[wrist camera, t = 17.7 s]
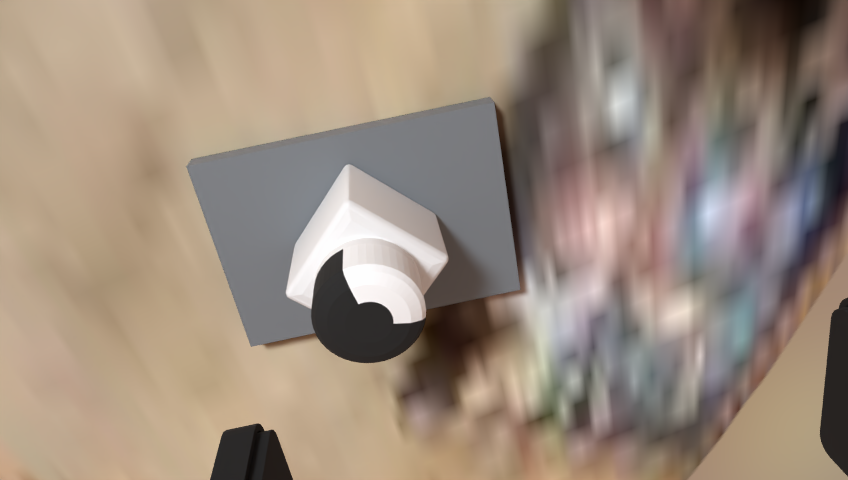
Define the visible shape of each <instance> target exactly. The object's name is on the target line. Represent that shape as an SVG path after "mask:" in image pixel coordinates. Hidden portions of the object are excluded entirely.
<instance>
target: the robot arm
mask: <svg viewBox="0 0 848 480" xmlns="http://www.w3.org/2000/svg"><path fill="white" fill-rule="evenodd" d="M820 437H821V442H822V445H823V447H824V449H825V451H826V452H827V454H828V455H829V456H830V458H831V459H832V460H833V461H834V462H835V463H836V464H837V465H838V466H839V467H840V469H841V470H843V472H844V473H845V474H846V475H847V476H848V298H846V299H844V300H842V302H841V303H840V306H839V309H837V310H835V311H834V312H833V313H832V317H831V325H830V335H829V346H828V356H827V367H826V377H825V387H824V396H823V408H822V417H821V427H820ZM210 480H293V478H292V475H291V473H290V470H289V467H288V464H287V462H286V459H285V456H284V453H283V451H282V448H281V445H280V443H279V440H278V437H277V435H276V432H275V431H274V430H268V431H264V429H263V427H262V426H261V424H253V425H248V426H244V427H239V428H234V429H230V430H226V431H224V432H223V434H222V437H221V440H220V444H219V448H218V452H217V456H216V459H215V463H214V467H213V471H212V475H211V478H210Z"/></svg>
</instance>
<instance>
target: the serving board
mask: <svg viewBox="0 0 848 480" xmlns="http://www.w3.org/2000/svg"><path fill="white" fill-rule="evenodd" d="M348 164H350V165H353V166H354V167H356V168H358V169H360V170H361V171H363V172H365V173H366V174H368V175H370V176H371V177H373V178H375V179H377V180H378V181H380V182H382V183H383V184H385V185H387V186H389V187H390V188H392V189H394V190H395V191H397V192H399V193H400V194H402V195H404V196H406V197H407V198H409V199H411V200H412V201H414V202H416V203H418V204H419V205H421V206H423V207H424V208H426V209H428V210H429V211H431V212H433V213H434V214H435V215H436V218H437V221H438V225H439V228H440V231H441V235H442V238H443V241H444V244H445V248H446V251H447V254H448V262H447V264H446V265H445V267H444V268H443V269H442V271H441V272H440V273H439V275H438V276H437V278H436V279H435V280H434V282H433V283H432V284H431V286H430V287H429V289H428V290H427V291H426V293H425V294H424V300H425V306H426V310H427V309H431V308H436V307H441V306H446V305H450V304H455V303H460V302H464V301H469V300H474V299H479V298H483V297H488V296H493V295H498V294H502V293H507V292H512V291H516V290H520V284H519V276H518V269H517V262H516V255H515V248H514V240H513V233H512V226H511V219H510V212H509V205H508V197H507V190H506V183H505V176H504V169H503V161H502V154H501V147H500V140H499V133H498V126H497V118H496V111H495V104H494V101H493V100H492V99H491V98H490V97H488V98H483V99H479V100H474V101H469V102H464V103H459V104H455V105H450V106H445V107H440V108H435V109H431V110H426V111H421V112H416V113H411V114H407V115H402V116H397V117H392V118H387V119H383V120H378V121H373V122H368V123H363V124H358V125H354V126H349V127H344V128H339V129H334V130H330V131H325V132H320V133H315V134H310V135H306V136H301V137H296V138H291V139H286V140H282V141H277V142H272V143H267V144H262V145H258V146H253V147H248V148H243V149H238V150H233V151H229V152H224V153H219V154H214V155H209V156H205V157H200V158H195V159H191V161H190V162H189V164H188V165H187V166H186V167H187V169H188V172H189V175H190V178H191V181H192V183H193V186H194V189H195V192H196V194H197V197H198V200H199V203H200V206H201V208H202V211H203V214H204V217H205V220H206V222H207V225H208V228H209V231H210V233H211V236H212V239H213V242H214V245H215V247H216V250H217V253H218V256H219V259H220V261H221V264H222V267H223V270H224V273H225V275H226V278H227V281H228V284H229V286H230V289H231V292H232V295H233V298H234V300H235V303H236V306H237V309H238V312H239V314H240V317H241V320H242V323H243V325H244V328H245V331H246V334H247V337H248V339H249V342H250V345H251V347H252V346H257V345H261V344H266V343H271V342H276V341H280V340H285V339H290V338H294V337H299V336H304V335H309V334H313V333H315V331H314V329H313V325H312V320H311V309H310V308H308V307H306V306H304V305H302V304H300V303H298V302H295V301H293V300H291V299H289V298H288V297H287V295H286V289H287V283H288V278H289V273H290V268H291V262H292V257H293V252H294V247H295V244H296V242H297V240H298V239H299V237H300V236H301V234H302V233H303V231H304V229H305V228H306V226H307V225H308V223H309V222H310V220H311V218H312V217H313V215H314V214H315V212H316V210H317V209H318V207H319V206H320V204H321V203H322V201H323V199H324V198H325V196H326V195H327V193H328V192H329V190H330V188H331V187H332V185H333V184H334V182H335V181H336V179H337V177H338V176H339V174H340V173H341V171H342V169H343V168H344V167H345V166H346V165H348Z"/></svg>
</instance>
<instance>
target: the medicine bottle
mask: <svg viewBox="0 0 848 480" xmlns="http://www.w3.org/2000/svg"><path fill="white" fill-rule="evenodd" d="M447 262H448V254H447V251H446V248H445V244H444V241H443V238H442V235H441V231H440V228H439V225H438V221H437V218H436V215H435V214H434V213H433V212H431V211H429V210H428V209H426V208H424V207H423V206H421V205H419V204H418V203H416V202H414V201H412V200H411V199H409V198H407V197H406V196H404V195H402V194H400V193H399V192H397V191H395V190H394V189H392V188H390V187H389V186H387V185H385V184H383V183H382V182H380V181H378V180H377V179H375V178H373V177H371V176H370V175H368V174H366V173H365V172H363V171H361V170H360V169H358V168H356V167H354V166H353V165H350V164H348V165H346V166H345V167H344V168H343V169H342V171H341V173H340V174H339V176H338V177H337V179H336V181H335V182H334V184H333V185H332V187H331V188H330V190H329V192H328V193H327V195H326V196H325V198H324V199H323V201H322V203H321V204H320V206H319V207H318V209H317V210H316V212H315V214H314V215H313V217H312V218H311V220H310V222H309V223H308V225H307V226H306V228H305V229H304V231H303V233H302V234H301V236H300V237H299V239H298V240H297V242H296V244H295V247H294V252H293V257H292V262H291V268H290V273H289V278H288V283H287V289H286V295H287V297H288V298H289V299H291V300H293V301H295V302H298V303H300V304H302V305H304V306H306V307H308V308H310V309H311V320H312V325H313V329H314V331H315V333H316V336H317V337H318V339H319V340H320V342H321V343H322V344H323V345H324V346H325V347H326V348H327V349H328V350H329V351H331V352H332V353H334V354H335V355H337V356H339V357H341V358H343V359H346V360H349V361H353V362H359V363H376V362H381V361H385V360H388V359H391V358H394V357H396V356H398V355H399V354H401V353H403V352H404V351H406V350H407V349H408V348H409V347H410V346H411V345H412V344H413V343H414V342H415V341H416V340H417V338H418V337H419V335H420V333H421V332H422V329H423V327H424V324H425V319H426V306H425V300H424V294H425V293H426V291H427V290H428V289H429V287H430V286H431V284H432V283H433V282H434V280H435V279H436V278H437V276H438V275H439V273H440V272H441V271H442V269H443V268H444V267H445V265H446V264H447Z"/></svg>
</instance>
